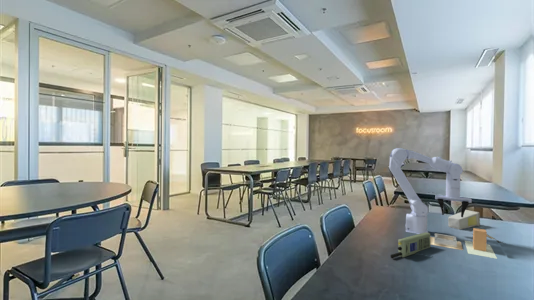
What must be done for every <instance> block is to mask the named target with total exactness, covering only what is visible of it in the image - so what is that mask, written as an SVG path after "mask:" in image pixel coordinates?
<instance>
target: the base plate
mask: <svg viewBox="0 0 534 300" xmlns="http://www.w3.org/2000/svg"><path fill="white" fill-rule="evenodd" d="M434 241H435V236H430V242H431V245H432V246H437V247H440V248H441V247H442V248H447V249H454V250H460V251H464V249H463V246H462V245H463V244H462V242H461V241H457V248H456V247H450V246H444V245H439V244H434Z"/></svg>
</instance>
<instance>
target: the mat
mask: <svg viewBox="0 0 534 300" xmlns="http://www.w3.org/2000/svg"><path fill="white" fill-rule="evenodd" d="M464 244H465V247H466V251H467V254H469V255H474V256H480V257H484V258H491V259H495V260H496V259H498V257H497V255H496V253H495V252H494V249H493V248H492V245H490V244H488V243H486V251H480V250H474V248H473V241H470V240H464Z"/></svg>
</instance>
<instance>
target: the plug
mask: <svg viewBox="0 0 534 300" xmlns="http://www.w3.org/2000/svg"><path fill="white" fill-rule="evenodd" d="M477 228H478V227H473V229H472V242H473V248H474V250H480V251H486V244H487V238H488V237H487V235H488V234H487V230H486V229H484V228H478V229H477Z"/></svg>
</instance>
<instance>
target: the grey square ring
mask: <svg viewBox="0 0 534 300" xmlns="http://www.w3.org/2000/svg"><path fill="white" fill-rule="evenodd" d="M434 237H435V241H434V244H439V245H444V246H450V247H456V248H457V236H456V235H454V236H453V235H449V234H448V235H447V234H441V233H434Z"/></svg>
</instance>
